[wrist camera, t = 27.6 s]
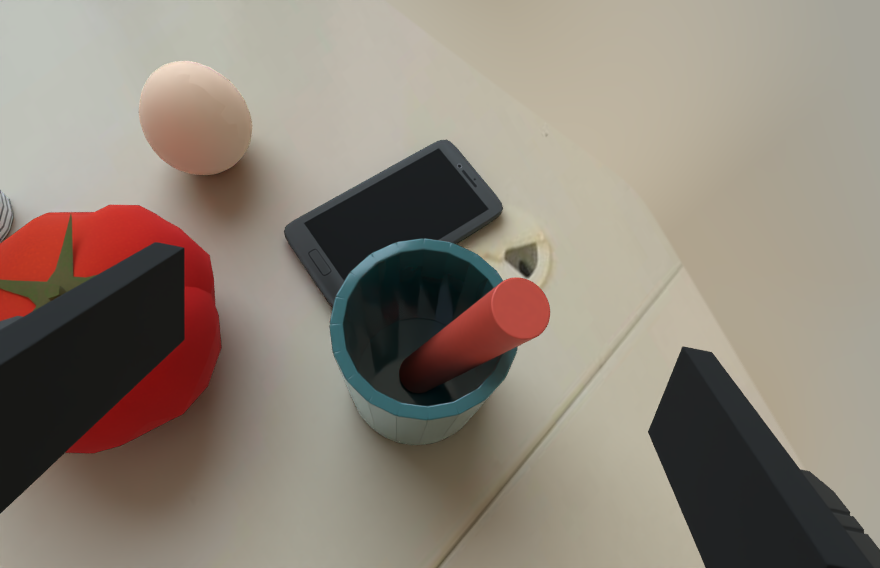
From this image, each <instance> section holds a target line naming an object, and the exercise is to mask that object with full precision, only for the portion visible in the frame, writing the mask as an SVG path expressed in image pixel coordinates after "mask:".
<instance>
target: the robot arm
mask: <svg viewBox="0 0 880 568" xmlns="http://www.w3.org/2000/svg"><path fill="white" fill-rule="evenodd" d="M184 340H185V250H184V247H179V246H174V245H169V244H164V243H159V242H154V243H153V244H151V245H149V246H147V247H146V248H144V249H142V250H140V251H139V252H137V253H135V254H133V255H131V256H130V257H128V258H126V259H124V260H123V261H121V262H119V263H117V264H116V265H114V266H112V267H110V268H108V269H107V270H105V271H103V272H101V273H100V274H98V275H96V276H94V277H93V278H91V279H89V280H87V281H86V282H84V283H82V284H80V285H78V286H77V287H75V288H73V289H71V290H70V291H68V292H66V293H64V294H63V295H61V296H59V297H57V298H55V299H54V300H52V301H50V302H48V303H47V304H45V305H43V306H41V307H40V308H38V309H36V310H34V311H32V312H31V313H29V314H27V315H25V316H24V317H23V316H15V317H12V318H8V319H5V320H2V321H0V513H2V512H3V511H4V510H5V509H6V508H7V507H8V506H9V505H10V504H11V503H12V502H13V501H14V500H15V499H16V498H17V497H18V496H20V495H21V494H22V493H23V492H24V491H25V490H26V489H27V488H28V487H29V486H30V485H31V484H32V483H33V482H34V481H35V480H36V479H38V478H39V477H40V476H41V475H42V474H43V473H44V472H45V471H46V470H47V469H48V468H49V467H50V466H51V465H52V464H53V463H55V462H56V461H57V460H58V459H59V458H60V457H61V456H62V455H63V454H64V453H65V452H66V451H67V450H68V449H69V448H70V447H71V446H73V445H74V444H75V443H76V442H77V441H78V440H79V439H80V438H81V437H82V436H83V435H84V434H85V433H86V432H87V431H88V430H89V429H91V428H92V427H93V426H94V425H95V424H96V423H97V422H98V421H99V420H100V419H101V418H102V417H103V416H104V415H105V414H106V413H108V412H109V411H110V410H111V409H112V408H113V407H114V406H115V405H116V404H117V403H118V402H119V401H120V400H121V399H122V398H123V397H124V396H126V395H127V394H128V393H129V392H130V391H131V390H132V389H133V388H134V387H135V386H136V385H137V384H138V383H139V382H140V381H141V380H142V379H144V378H145V377H146V376H147V375H148V374H149V373H150V372H151V371H152V370H153V369H154V368H155V367H156V366H157V365H158V364H159V363H161V362H162V361H163V360H164V359H165V358H166V357H167V356H168V355H169V354H170V353H171V352H172V351H173V350H174V349H175V348H176V347H177V346H179V345H180V344H181V343H182V342H183V341H184ZM648 433H649V435H650V438H651V440H652V442H653V445H654V447H655V449H656V452H657V454H658V456H659V459H660V461H661V464H662V466H663V468H664V471H665V473H666V475H667V478H668V480H669V482H670V485H671V487H672V489H673V492H674V494H675V496H676V499H677V501H678V504H679V506H680V508H681V511H682V513H683V515H684V518H685V520H686V522H687V525H688V527H689V529H690V532H691V534H692V536H693V539H694V541H695V544H696V546H697V548H698V551H699V553H700V555H701V558H702V560H703V562H704V565H705V567H706V568H880V549H879V548H878V547H877V546H876V544H875V543H874V542H873V541H872V539H871V538H870V537H869V536H868V534H864V529H863V528H862V527H861V526H860V524H859V523H858V522H857V520H856V519H855V518H854V517H853V516H850V511H849V510H848V509H847V508H846V506H845V505H844V504H843V503H842V501H841V500H840V499H839V498H838V496H837V495H836V494H835V493H834V491H832V490H831V489H830V488H829V487H828V486H826V485H825V484H824V483H823V482H822V481H820V480H819V479H818V478H817V477H815V476H814V475H813V474H812V473H811V472H810V471H805V470H800V469H799V467H798V466H797V465H796V463H795V462H794V461H793V459H792V458H791V457H790V455H789V454H788V453H787V451H786V450H785V449H784V447H783V446H782V445H781V443H780V442H779V441H778V440H777V438H776V437H775V436H774V434H773V433H772V432H771V430H770V429H769V428H768V426H767V425H766V424H765V422H764V421H763V420H762V418H761V417H760V416H759V414H758V413H757V412H756V410H755V409H754V408H753V406H752V405H751V404H750V402H749V401H748V400H747V398H746V397H745V396H744V394H743V393H742V392H741V390H740V389H739V388H738V386H737V385H736V384H735V382H734V381H733V380H732V378H731V377H730V376H729V374H728V373H727V372H726V370H725V369H724V368H723V366H722V365H721V364H720V362H719V361H718V360H717V358H716V357H715V356H714V354H713V353H712V352H708V351H703V350H698V349H693V348H688V347H682V349H681V352H680V354H679V357H678V359H677V362H676V364H675V367H674V369H673V372H672V374H671V377H670V379H669V382H668V384H667V387H666V389H665V391H664V394H663V396H662V399H661V401H660V404H659V406H658V409H657V411H656V414H655V416H654V419H653V421H652V424H651V426H650V428H649V431H648Z"/></svg>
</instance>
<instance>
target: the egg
mask: <svg viewBox="0 0 880 568" xmlns="http://www.w3.org/2000/svg"><path fill="white" fill-rule="evenodd" d="M139 118H140V123H141V126H142V129H143V132H144V135H145V137H146V139H147V141H148V142H149V144H150V146H151V147H152V149H153V150H154V151H155V152H156V154H157V155H158V156H159V157H160V158H161V159H162V160H164V161H165V162H166V163H168V164H169V165H170V166H172V167H174V168H176V169H178V170H180V171H183V172H186V173H189V174H196V175H212V174H217V173H220V172H223V171H225V170H227V169H229V168H231V167H232V166H234V165H235V164H236V163H237V162H238V161H239V160H240V159H241V158H242V157H243V155H244V154H245V152H246V151H247V149H248V147H249V144H250V141H251V134H252V121H251V116H250V112H249V110H248V107H247V105H246V102H245V100H244V99H243V97H242V95H241V94H240V92H239V91H238V90H237V88H236V87H235V86H234V85H233V84H232V83H231V81H230V80H228V79H227V78H225V77H224V76H222V75H221V74H220V73H218V72H217V71H215V70H213V69H212V68H210V67H207V66H205V65H202V64H199V63H197V62H191V61H176V62H171V63H168V64H165V65H163V66H161V67H160V68H158V69H157V70H156V71H154V72H153V73H152V74H151V75H150V77H149V78H148V79H147V81H146V83H145V85H144V87H143V89H142V92H141V97H140V104H139Z"/></svg>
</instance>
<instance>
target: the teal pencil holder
mask: <svg viewBox="0 0 880 568" xmlns="http://www.w3.org/2000/svg"><path fill="white" fill-rule="evenodd" d="M501 282H503V280H502V278H501V277H500V275H499V274H498V273H497V271H496V270H495V269H494V268H493V267H491V266H490V265H489V264H488V263H487V262H486V261H485V260H483V259H482V258H481V257H480V256H479V255H478V254H476V253H474V252H472V251H469V250H467V249H465V248H463V247H461V246H458V245H456V244H454V243H451V242H446V241H439V240H432V239H426V238H425V239H415V240H408V241H400V242H396V243H393V244H391V245H389V246H386V247H384V248H382V249H380V250H378V251H375V252H373V253H371V254H370V255H368V256H367V257H366V258H365V259H364V260H363V261H362V262H361V263H359V264H358V265H357V266H356V267H355V268H354V269H353V270H352V271H351V272H350V273H349V274H348V276H347V277H346V279H345V281H344V283H343V284H342V286H341V288H340V289H339V291H338V293H337V294H336V297H335V300H334V305H333V309H332V314H331V319H330V334H331V342H332V350H333V354H334V357H335V360H336V362H337V364H338V367H339V369H340V372H341V374H342V376H343V379H344V381H345V384H346V386H347V388H348V391H349V393H350V396H351V398H352V400H353V402H354V404H355V406H356V408H357V410H358V412H359V414H360V415H361V417H362V418H363V419H364V421H365V422H366V423H367V424H368V425H369V426H370V427H371V428H372V429H374V430H375V431H376V432H377V433H379V434H380V435H382V436H384V437H385V438H387V439H390V440H392V441H395V442H398V443H402V444H409V445H424V444H431V443H434V442H438V441H441V440H443V439H445V438H447V437H449V436H451V435H452V434H454V433H456V432H457V431H459V430H460V429H461V428H462V427H463V426H464V425H465V424H466V423H467V422H468V420H469V419H470V418H471V417H472V416H473V415H474V414H475V413H476V412H477V410H478V409H479V408H480V407H481V406H482V405H483V404H484V402H485V401H486V400H487V399H488V398H489V397H490V396H491V394H492V393H493V392H494V391H495V390H496V389H497V387H498V386H499V385H500V384H501V383H502V382H503V381H504V379H505V378H506V376H507V374H508V372H509V369H510V367H511V365H512V362H513V360H514V358H515V355H516V353H517V352H516V351H517V347H518V346H517V347H515V348H513V349H511V350H509V351H507V352H505V353H503V354H501V355H499V356H497V357H495V358H493V359H491V360H489V361H487V362H485V363H483V364H481V365H479V366H477V367H475V368H473V369H471V370H469V371H467V372H465V373H463V374H461V375H459V376H457V377H455V378H453V379H451V380H449V381H447V382H445V383H443V384H441V385H439V386H437V387H435V388H433V389H431V390H429V391H427V392H424V393H413V392H411V391H409V390H407V389H406V388H405V387H404V386H403V384H402V382H401V380H400V376H399V370H400V366H401V364H402V362H403V361H404V360H405V359H406V358H407V357H408V356H410V355H411V354H412V353H413V352H415V351H416V350H417V349H418V348H420V347H421V346H422V345H423V344H425V343H426V342H427V341H428V340H430V339H431V338H432V337H433V336H435V335H436V334H437V333H438V332H440V331H441V330H442V329H443V328H445V327H446V326H447V325H448V324H450V323H451V322H452V321H453V320H455V319H456V318H457V317H458V316H460V315H461V314H462V313H463V312H465V311H466V310H467V309H468V308H470V307H471V306H472V305H473V304H475V303H476V302H477V301H478V300H480V299H481V298H482V297H483V296H485V295H486V294H487V293H488V292H490V291H491V290H492V289H493V288H495V287H496V286H497V285H498V284H500V283H501Z"/></svg>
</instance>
